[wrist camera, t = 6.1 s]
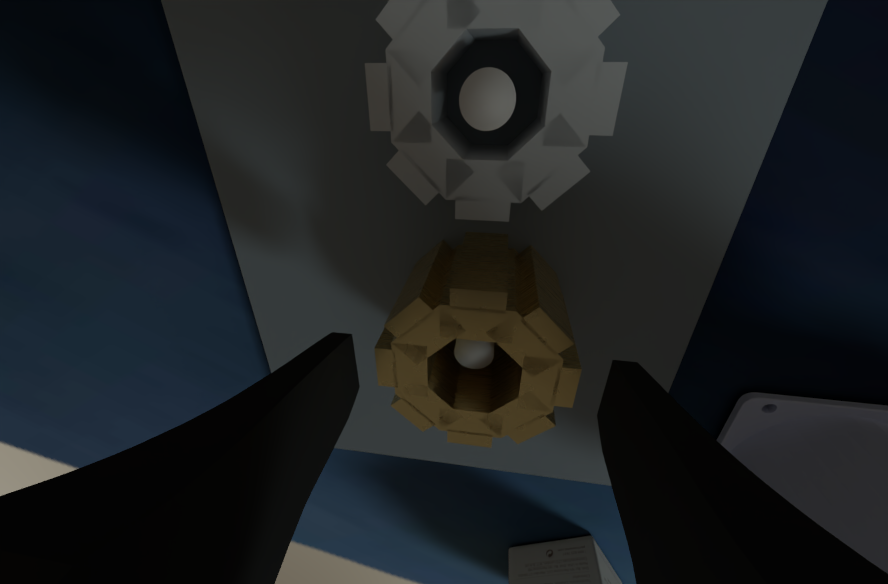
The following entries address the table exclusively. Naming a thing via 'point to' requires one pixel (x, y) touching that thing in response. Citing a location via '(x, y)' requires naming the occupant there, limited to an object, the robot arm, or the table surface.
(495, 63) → the gear board
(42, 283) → the table surface
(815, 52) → the table surface
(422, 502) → the table surface
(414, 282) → the brass gear
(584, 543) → the small box
